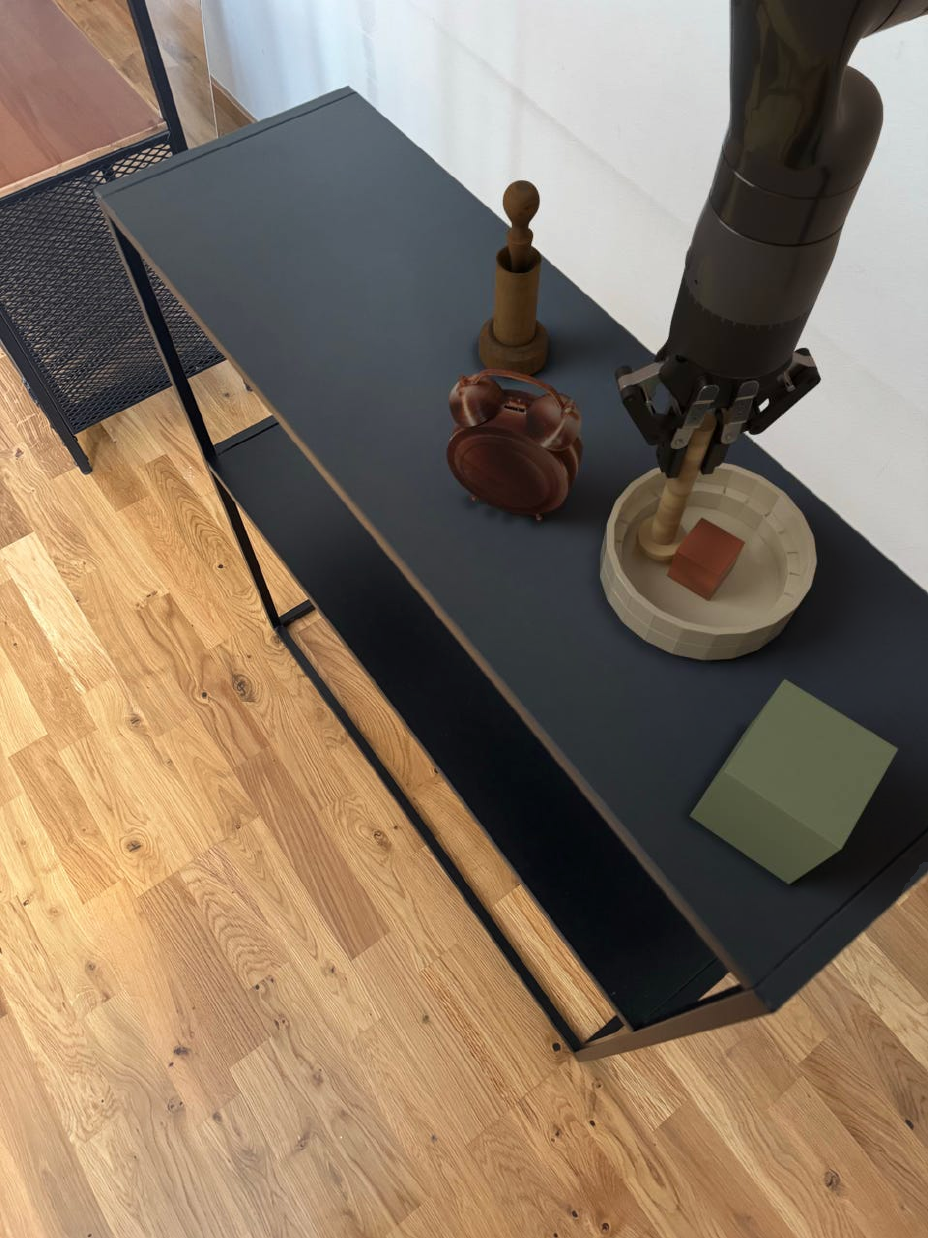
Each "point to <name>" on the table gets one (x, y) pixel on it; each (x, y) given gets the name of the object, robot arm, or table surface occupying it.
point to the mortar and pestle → (516, 292)
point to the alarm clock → (514, 443)
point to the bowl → (750, 593)
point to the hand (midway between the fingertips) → (686, 466)
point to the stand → (794, 784)
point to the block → (705, 558)
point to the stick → (675, 500)
